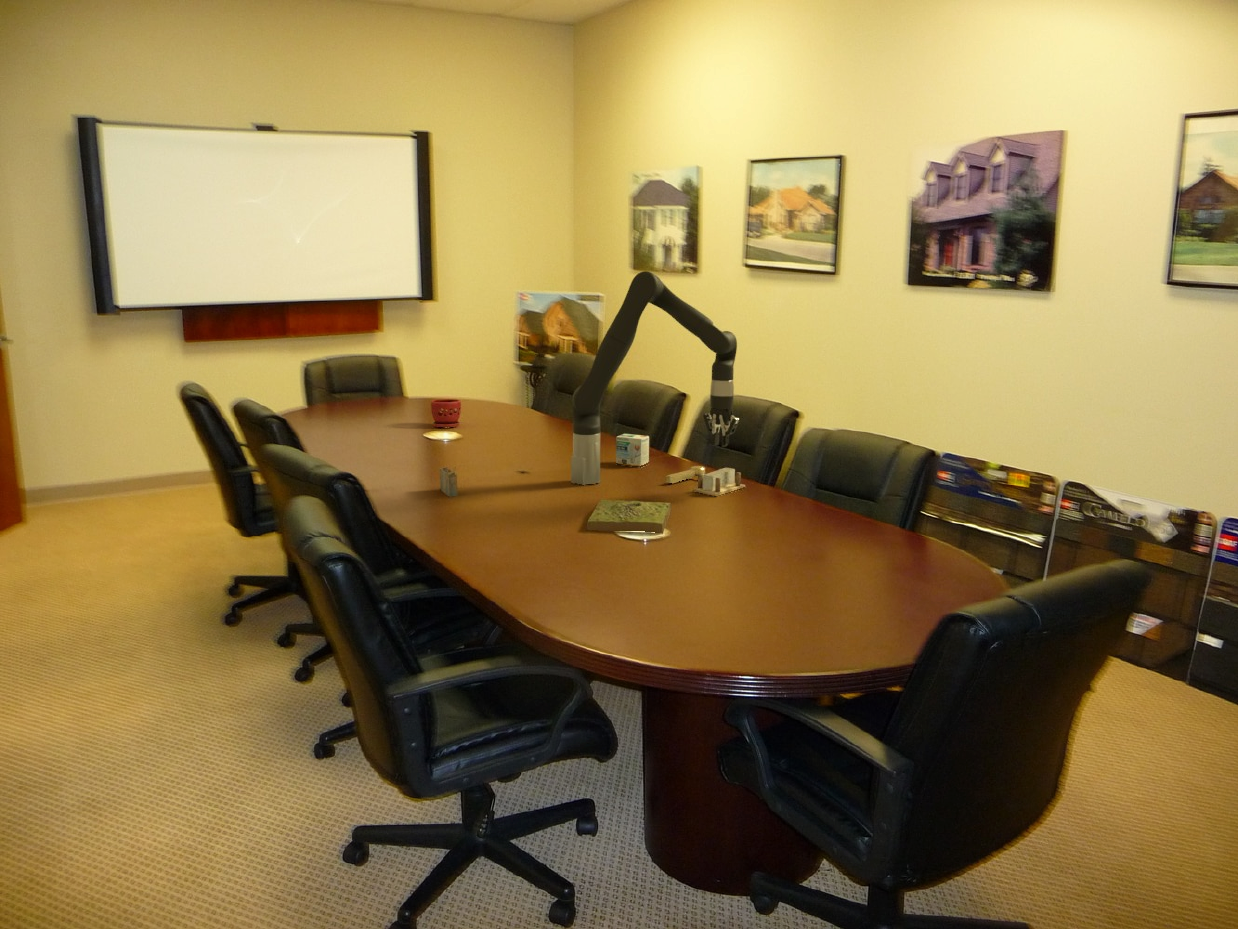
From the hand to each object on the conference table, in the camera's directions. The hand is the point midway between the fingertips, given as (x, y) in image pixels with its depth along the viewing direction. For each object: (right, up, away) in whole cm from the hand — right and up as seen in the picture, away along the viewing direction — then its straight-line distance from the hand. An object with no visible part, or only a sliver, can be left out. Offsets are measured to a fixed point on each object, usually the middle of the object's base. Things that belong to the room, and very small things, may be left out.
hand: (720, 445), depth 319 cm
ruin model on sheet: (-89, -16, -3) cm, 90 cm away
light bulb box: (-28, -6, +41) cm, 50 cm away
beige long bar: (-10, -11, +17) cm, 23 cm away
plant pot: (-110, +10, +114) cm, 159 cm away
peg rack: (0, -15, +3) cm, 15 cm away
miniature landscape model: (-30, -23, -34) cm, 51 cm away
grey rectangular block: (0, -14, +3) cm, 14 cm away
